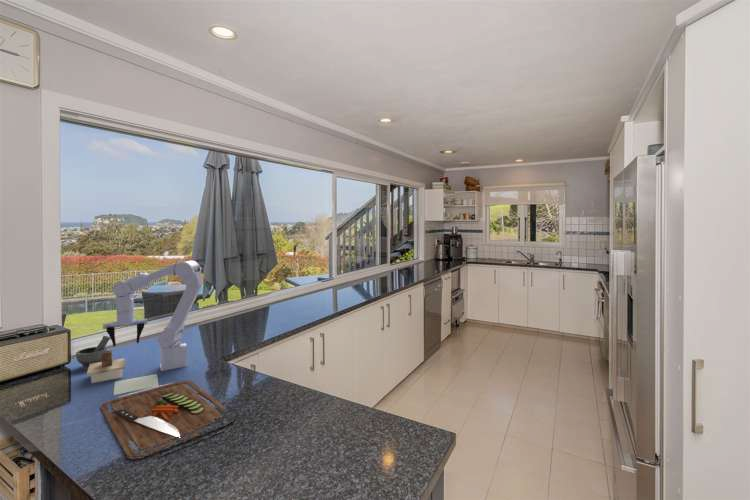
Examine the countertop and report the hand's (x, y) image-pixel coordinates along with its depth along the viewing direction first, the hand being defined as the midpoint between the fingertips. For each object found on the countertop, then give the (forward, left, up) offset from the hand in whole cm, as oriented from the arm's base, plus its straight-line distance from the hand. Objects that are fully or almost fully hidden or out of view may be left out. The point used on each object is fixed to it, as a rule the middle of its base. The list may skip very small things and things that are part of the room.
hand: (126, 344), depth 143 cm
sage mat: (-3, +21, -10) cm, 23 cm away
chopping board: (-10, +50, -11) cm, 53 cm away
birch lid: (+6, +7, -6) cm, 11 cm away
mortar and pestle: (+11, -10, -10) cm, 18 cm away
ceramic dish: (+6, +7, -10) cm, 14 cm away
